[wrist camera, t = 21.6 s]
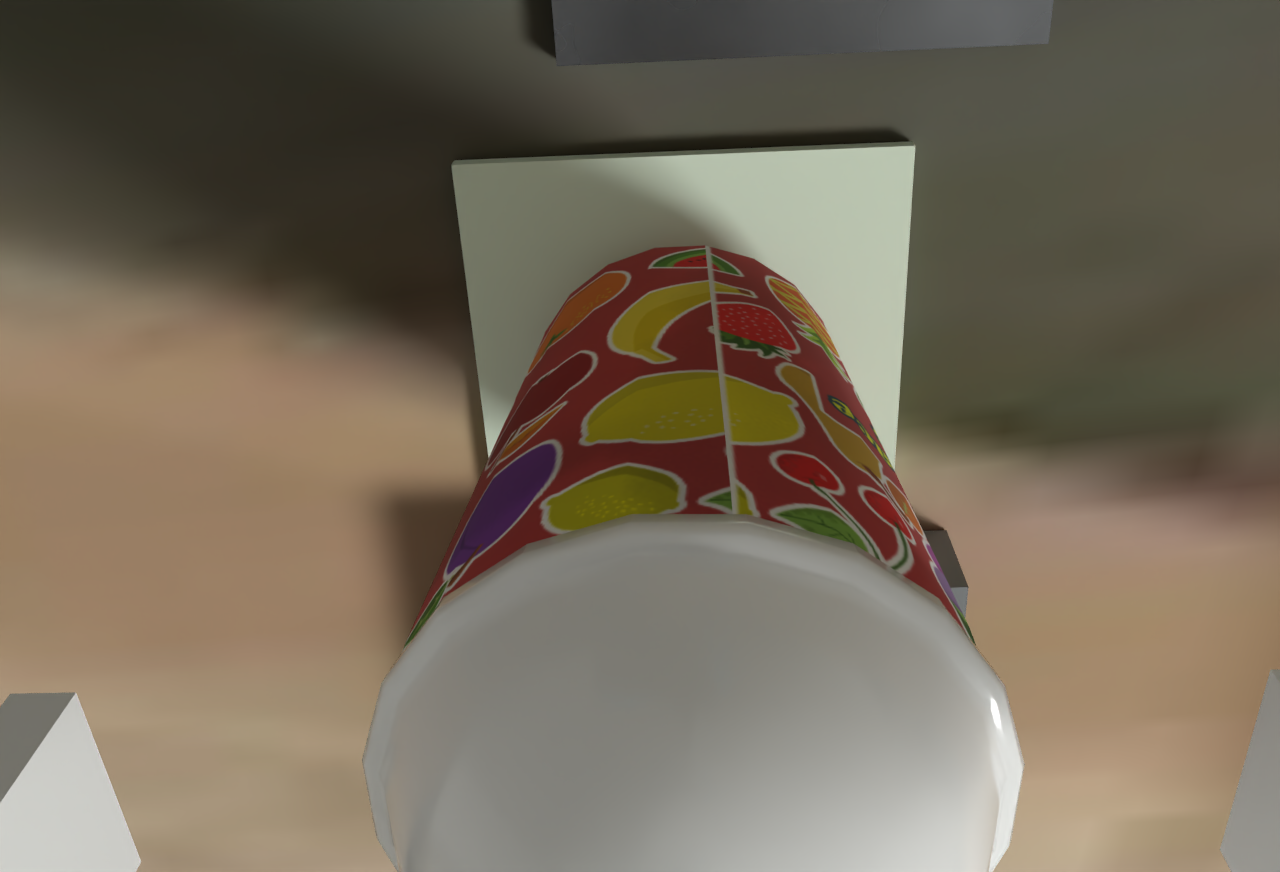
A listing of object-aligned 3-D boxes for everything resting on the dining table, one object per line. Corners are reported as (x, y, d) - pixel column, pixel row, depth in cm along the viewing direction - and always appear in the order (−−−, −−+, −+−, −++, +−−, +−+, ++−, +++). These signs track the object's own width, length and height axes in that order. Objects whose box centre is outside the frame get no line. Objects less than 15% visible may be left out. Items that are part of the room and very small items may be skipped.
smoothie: (854, 513, 28) (1145, 1629, 11) (525, 518, 29) (274, 1604, 11) (874, 184, 24) (1382, 1079, 7) (492, 196, 25) (24, 1073, 7)
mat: (454, 160, 25) (450, 164, 25) (911, 141, 24) (915, 145, 24) (502, 541, 30) (500, 549, 29) (887, 531, 29) (889, 540, 29)
